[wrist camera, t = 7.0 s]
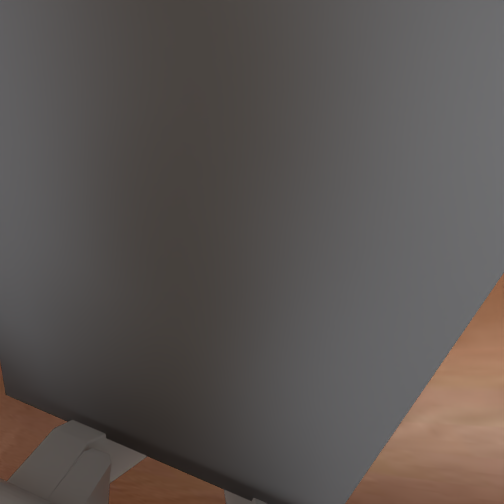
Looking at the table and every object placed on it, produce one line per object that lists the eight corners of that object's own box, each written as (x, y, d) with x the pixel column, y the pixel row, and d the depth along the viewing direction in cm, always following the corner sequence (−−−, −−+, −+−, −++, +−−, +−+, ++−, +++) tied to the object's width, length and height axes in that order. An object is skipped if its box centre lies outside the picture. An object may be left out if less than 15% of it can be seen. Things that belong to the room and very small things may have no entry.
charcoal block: (504, -30, 7) (965, -401, 2) (336, 334, 12) (324, 532, 6) (189, -95, 8) (-136, -473, 3) (150, 267, 13) (5, 394, 7)
